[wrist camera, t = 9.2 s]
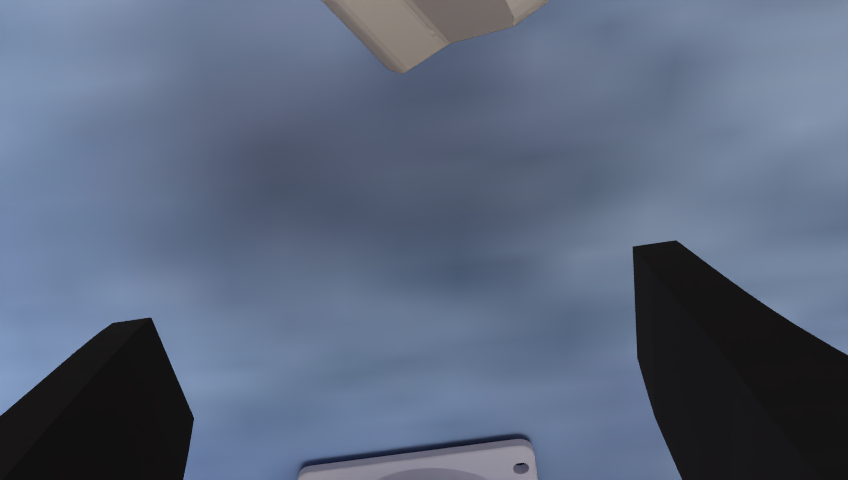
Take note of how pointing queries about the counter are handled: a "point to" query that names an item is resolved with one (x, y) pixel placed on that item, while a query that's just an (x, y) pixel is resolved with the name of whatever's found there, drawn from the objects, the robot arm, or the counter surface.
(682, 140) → the counter surface
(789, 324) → the robot arm
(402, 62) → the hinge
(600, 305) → the counter surface
